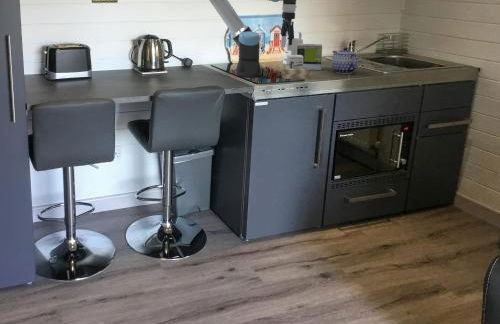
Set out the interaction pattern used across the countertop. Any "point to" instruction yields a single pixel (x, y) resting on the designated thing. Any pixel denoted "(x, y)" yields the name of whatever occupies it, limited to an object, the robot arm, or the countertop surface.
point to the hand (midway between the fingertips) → (286, 49)
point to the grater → (294, 47)
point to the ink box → (294, 62)
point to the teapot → (344, 61)
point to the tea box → (310, 55)
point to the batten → (296, 73)
